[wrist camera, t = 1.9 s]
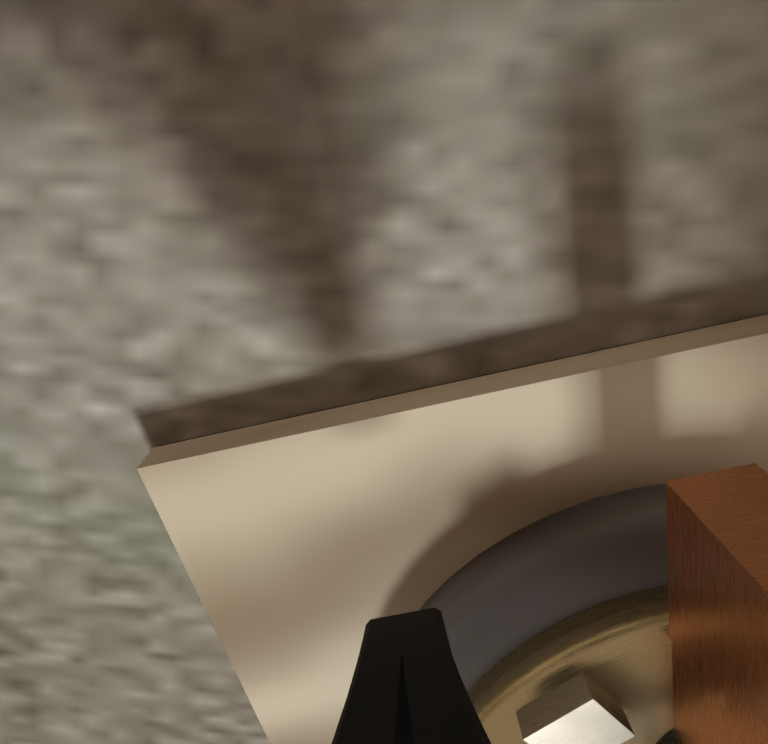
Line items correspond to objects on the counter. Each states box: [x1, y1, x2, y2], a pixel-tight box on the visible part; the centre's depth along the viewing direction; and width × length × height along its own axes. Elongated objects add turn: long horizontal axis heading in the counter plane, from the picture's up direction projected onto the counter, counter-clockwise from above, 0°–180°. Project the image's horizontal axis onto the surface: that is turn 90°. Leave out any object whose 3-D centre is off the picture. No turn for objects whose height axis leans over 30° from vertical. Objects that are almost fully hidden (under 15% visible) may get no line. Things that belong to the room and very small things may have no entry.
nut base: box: [137, 314, 768, 744], centre depth 16 cm, size 24×24×2 cm
